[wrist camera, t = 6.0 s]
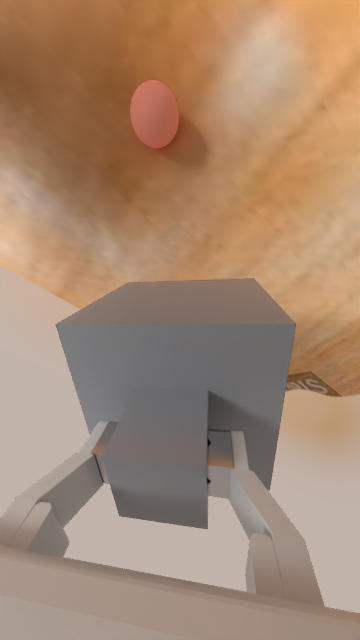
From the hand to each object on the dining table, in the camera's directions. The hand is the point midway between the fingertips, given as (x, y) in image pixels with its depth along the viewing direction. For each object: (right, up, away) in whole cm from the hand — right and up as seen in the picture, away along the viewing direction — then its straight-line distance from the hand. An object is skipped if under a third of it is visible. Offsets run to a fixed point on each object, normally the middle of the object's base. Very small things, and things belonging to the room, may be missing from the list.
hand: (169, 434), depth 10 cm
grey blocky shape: (+1, +4, +9) cm, 10 cm away
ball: (-2, +26, +12) cm, 29 cm away
